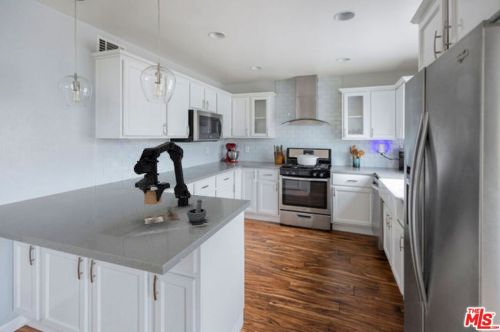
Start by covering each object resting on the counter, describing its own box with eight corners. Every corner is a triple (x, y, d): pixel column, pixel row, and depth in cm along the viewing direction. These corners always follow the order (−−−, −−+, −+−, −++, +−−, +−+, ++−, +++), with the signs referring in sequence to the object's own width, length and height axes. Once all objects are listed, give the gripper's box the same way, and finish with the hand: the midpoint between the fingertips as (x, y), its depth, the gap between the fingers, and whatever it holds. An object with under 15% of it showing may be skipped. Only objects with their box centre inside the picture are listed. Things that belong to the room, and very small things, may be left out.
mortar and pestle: (202, 227, 130) (201, 204, 129) (184, 226, 132) (184, 203, 130) (209, 220, 141) (208, 198, 140) (193, 219, 143) (192, 198, 141)
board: (176, 215, 150) (176, 204, 150) (180, 222, 138) (180, 210, 137) (143, 219, 143) (142, 208, 142) (144, 227, 130) (143, 215, 130)
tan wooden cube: (161, 202, 137) (161, 190, 137) (153, 204, 132) (153, 192, 131) (152, 201, 139) (152, 189, 139) (144, 203, 134) (143, 191, 133)
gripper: (125, 173, 129) (127, 203, 131) (155, 175, 123) (157, 206, 125) (141, 170, 140) (143, 198, 142) (170, 172, 133) (171, 201, 135)
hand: (153, 201), depth 136 cm, fingers closed on tan wooden cube, 6 cm apart
